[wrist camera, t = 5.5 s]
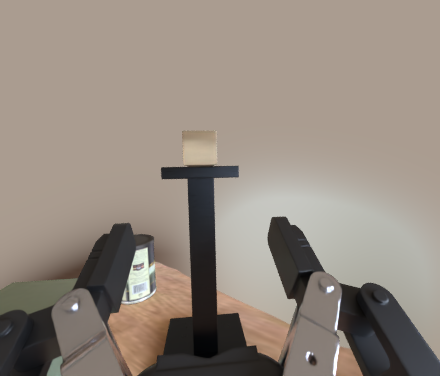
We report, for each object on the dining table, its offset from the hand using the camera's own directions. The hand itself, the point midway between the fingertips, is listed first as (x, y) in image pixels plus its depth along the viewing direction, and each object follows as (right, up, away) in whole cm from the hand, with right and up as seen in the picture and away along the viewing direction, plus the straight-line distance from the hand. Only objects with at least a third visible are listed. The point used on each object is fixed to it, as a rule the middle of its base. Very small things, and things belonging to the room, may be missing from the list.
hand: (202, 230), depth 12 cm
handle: (-2, +6, +19) cm, 19 cm away
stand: (-2, -26, +25) cm, 36 cm away
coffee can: (-21, -25, +43) cm, 54 cm away
